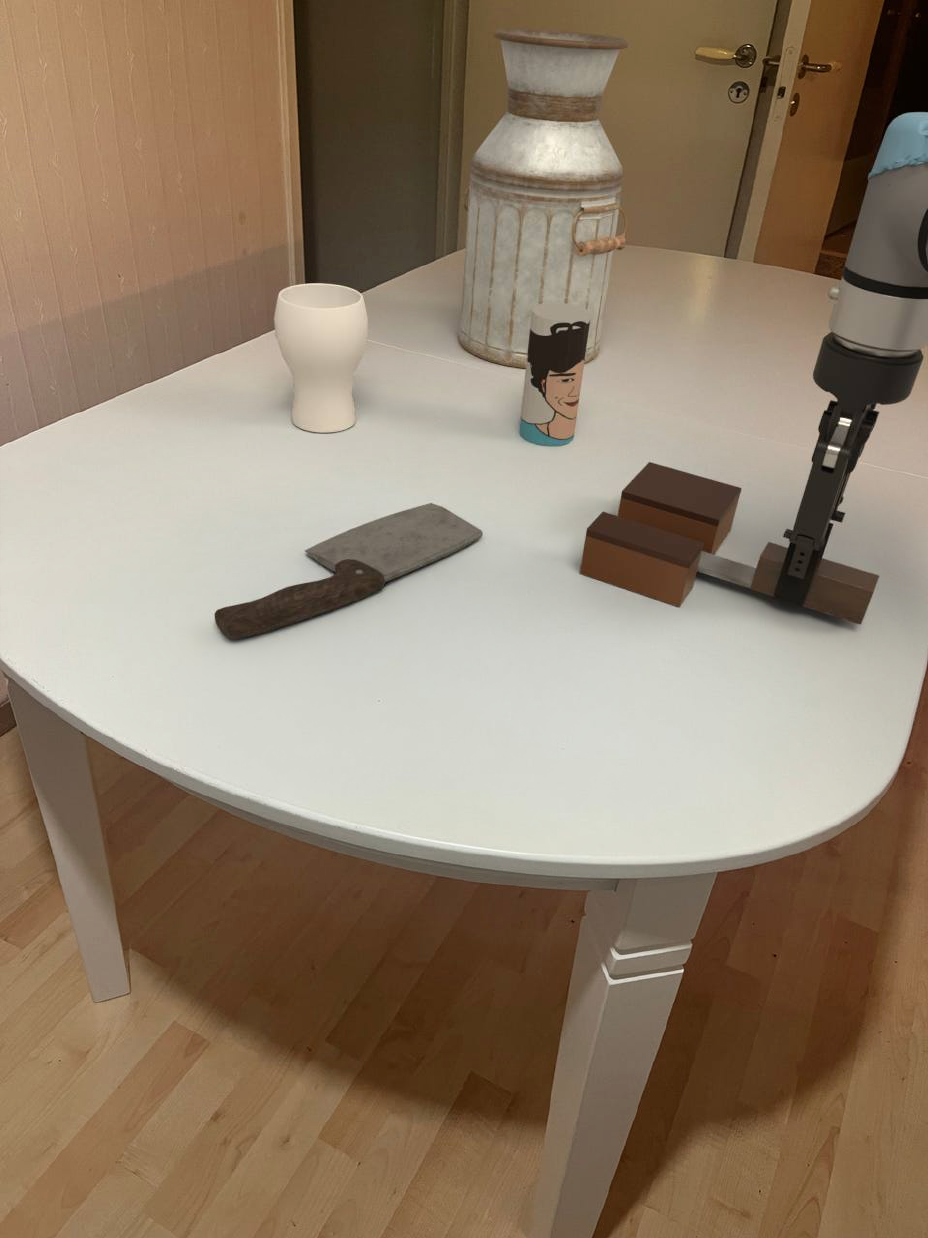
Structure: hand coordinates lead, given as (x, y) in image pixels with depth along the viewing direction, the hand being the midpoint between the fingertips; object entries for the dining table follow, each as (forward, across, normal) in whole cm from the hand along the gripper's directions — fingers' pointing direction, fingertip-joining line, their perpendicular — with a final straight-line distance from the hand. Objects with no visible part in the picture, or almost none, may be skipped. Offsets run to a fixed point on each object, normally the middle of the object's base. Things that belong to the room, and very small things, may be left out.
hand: (793, 590), depth 85 cm
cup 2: (+2, -20, -34) cm, 40 cm away
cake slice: (+2, +4, -14) cm, 14 cm away
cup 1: (+2, -8, -58) cm, 59 cm away
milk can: (+2, -48, -50) cm, 70 cm away
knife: (0, 0, -5) cm, 5 cm away
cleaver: (+2, +18, -36) cm, 41 cm away
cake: (+2, -6, -14) cm, 15 cm away
